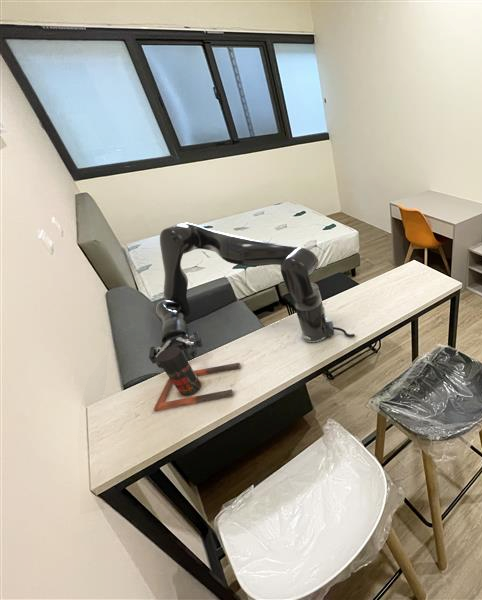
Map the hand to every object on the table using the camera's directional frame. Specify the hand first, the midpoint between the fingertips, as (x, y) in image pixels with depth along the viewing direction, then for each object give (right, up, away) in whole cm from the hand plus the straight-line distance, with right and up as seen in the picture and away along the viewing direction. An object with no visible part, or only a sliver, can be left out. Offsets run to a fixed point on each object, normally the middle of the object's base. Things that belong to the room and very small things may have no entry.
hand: (177, 360), depth 99 cm
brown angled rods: (+7, -8, +1) cm, 11 cm away
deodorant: (+4, -9, +1) cm, 10 cm away
